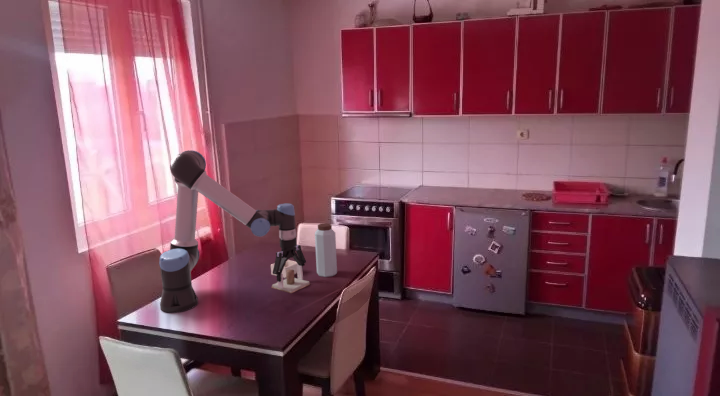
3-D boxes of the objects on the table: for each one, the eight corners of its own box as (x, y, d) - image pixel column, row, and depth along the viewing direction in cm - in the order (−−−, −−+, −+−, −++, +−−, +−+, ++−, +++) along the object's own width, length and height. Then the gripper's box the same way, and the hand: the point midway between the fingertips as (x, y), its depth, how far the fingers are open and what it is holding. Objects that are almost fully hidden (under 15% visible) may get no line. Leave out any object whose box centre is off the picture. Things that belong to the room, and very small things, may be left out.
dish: (286, 279, 243) (285, 268, 242) (271, 275, 249) (270, 264, 247) (300, 272, 251) (299, 262, 249) (285, 269, 256) (285, 259, 255)
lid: (291, 292, 224) (290, 277, 223) (272, 287, 231) (271, 272, 230) (309, 284, 234) (308, 269, 232) (290, 279, 241) (289, 264, 239)
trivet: (291, 294, 224) (291, 293, 224) (270, 288, 231) (270, 287, 231) (311, 285, 234) (310, 283, 234) (290, 279, 242) (290, 278, 242)
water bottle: (338, 271, 251) (336, 222, 246) (335, 278, 241) (333, 227, 236) (318, 271, 252) (316, 222, 247) (315, 278, 242) (312, 227, 238)
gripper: (274, 246, 216) (277, 293, 221) (312, 232, 235) (314, 276, 240) (262, 243, 221) (265, 290, 225) (300, 230, 240) (302, 273, 244)
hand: (290, 283), depth 232 cm, fingers closed on lid, 12 cm apart
